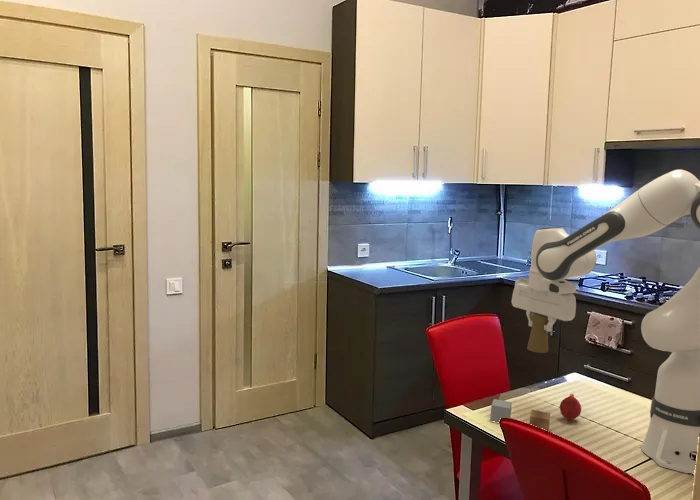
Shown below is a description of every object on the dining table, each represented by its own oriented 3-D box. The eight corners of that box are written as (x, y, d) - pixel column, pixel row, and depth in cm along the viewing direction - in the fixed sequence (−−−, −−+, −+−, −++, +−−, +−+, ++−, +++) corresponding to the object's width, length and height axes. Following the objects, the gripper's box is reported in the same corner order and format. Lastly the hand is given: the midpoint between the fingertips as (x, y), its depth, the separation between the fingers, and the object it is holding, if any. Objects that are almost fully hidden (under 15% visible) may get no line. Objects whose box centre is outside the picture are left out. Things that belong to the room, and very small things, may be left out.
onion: (581, 426, 168) (584, 399, 167) (560, 423, 169) (562, 396, 168) (577, 418, 174) (580, 391, 172) (557, 415, 175) (560, 389, 174)
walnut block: (548, 430, 164) (550, 413, 164) (547, 437, 160) (549, 419, 159) (529, 426, 166) (531, 409, 165) (528, 433, 161) (530, 416, 161)
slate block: (510, 418, 171) (511, 402, 170) (508, 425, 166) (509, 408, 165) (492, 415, 172) (494, 398, 172) (489, 421, 168) (491, 404, 167)
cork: (551, 353, 172) (554, 316, 171) (530, 352, 172) (533, 315, 171) (544, 347, 178) (548, 311, 177) (524, 346, 178) (527, 310, 177)
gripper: (509, 276, 179) (505, 321, 181) (567, 289, 162) (562, 338, 164) (523, 275, 183) (519, 319, 184) (581, 288, 166) (576, 336, 168)
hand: (539, 328), depth 174 cm, fingers closed on cork, 4 cm apart
